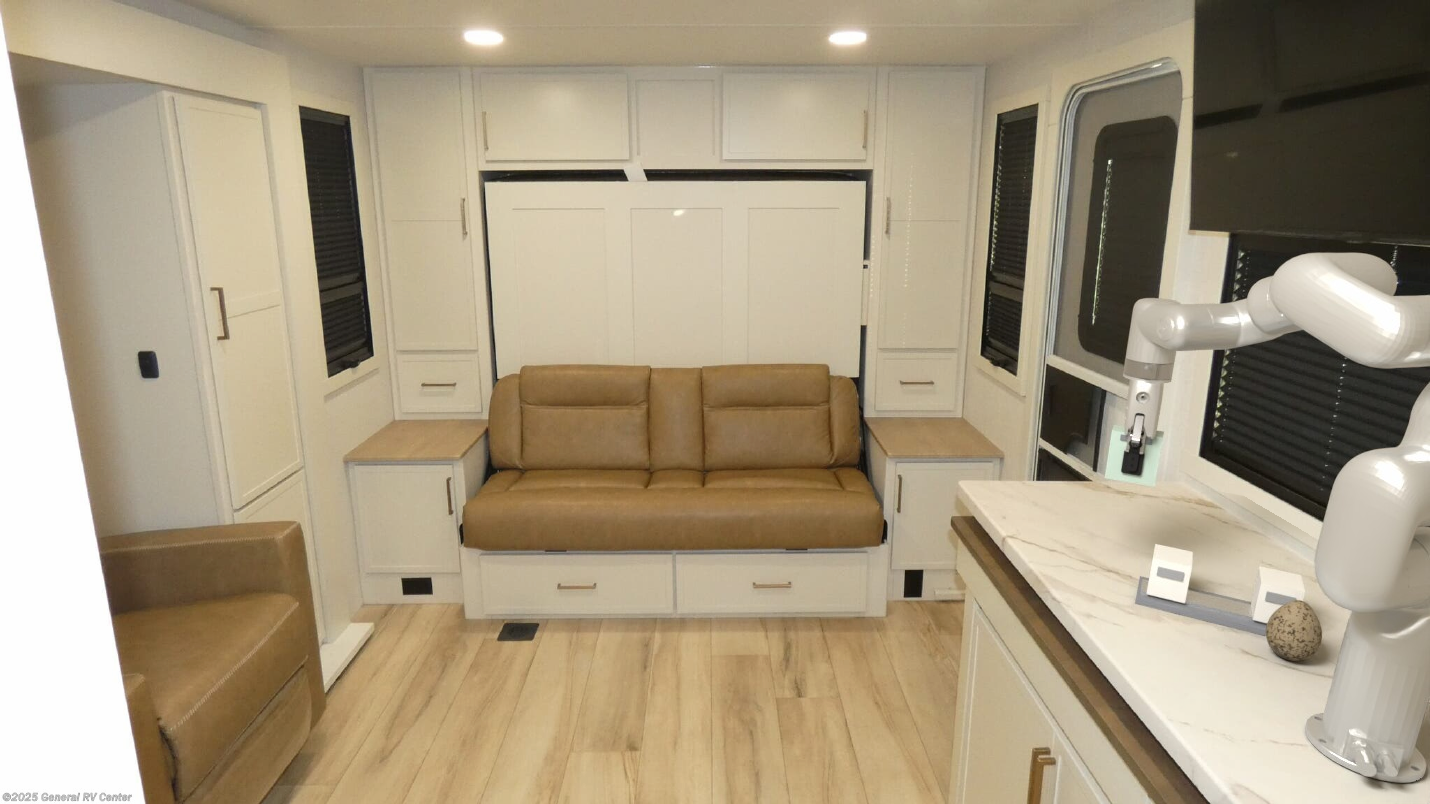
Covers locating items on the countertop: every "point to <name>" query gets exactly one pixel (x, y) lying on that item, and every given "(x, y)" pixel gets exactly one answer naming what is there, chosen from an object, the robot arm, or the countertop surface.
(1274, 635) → the decorative egg
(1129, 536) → the countertop surface
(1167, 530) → the countertop surface
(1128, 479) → the block
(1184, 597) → the board
